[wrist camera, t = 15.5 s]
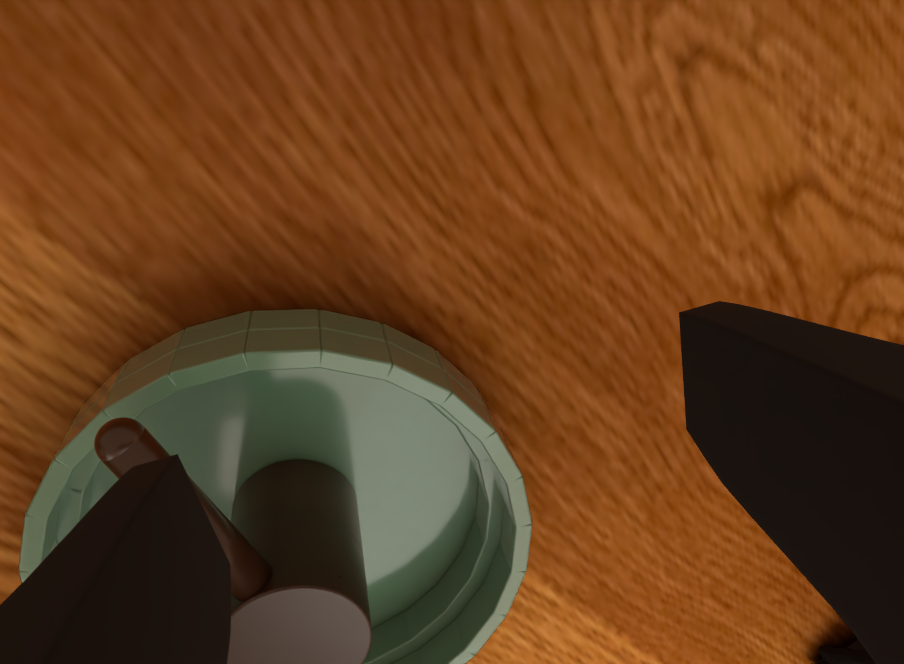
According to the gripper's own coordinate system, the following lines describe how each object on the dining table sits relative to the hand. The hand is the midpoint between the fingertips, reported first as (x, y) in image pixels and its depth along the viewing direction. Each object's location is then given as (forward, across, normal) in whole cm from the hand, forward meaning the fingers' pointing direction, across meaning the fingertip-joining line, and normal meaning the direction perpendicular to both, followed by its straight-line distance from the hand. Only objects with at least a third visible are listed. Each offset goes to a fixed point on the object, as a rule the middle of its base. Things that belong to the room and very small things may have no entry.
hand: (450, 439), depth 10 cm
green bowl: (+10, +5, +7) cm, 13 cm away
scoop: (+9, +5, +5) cm, 11 cm away
